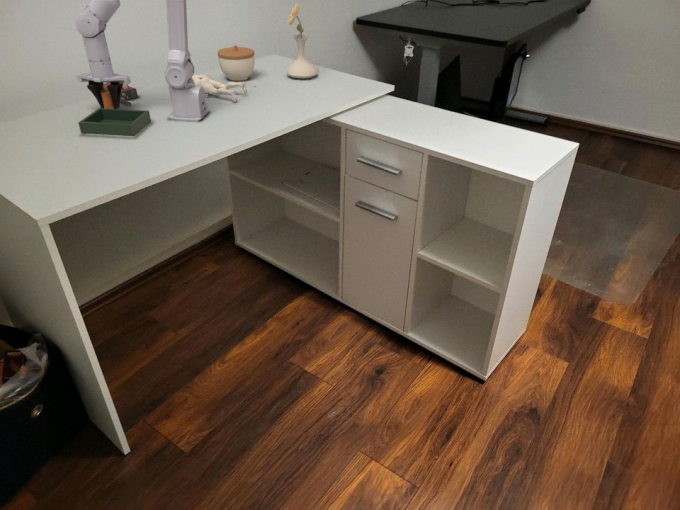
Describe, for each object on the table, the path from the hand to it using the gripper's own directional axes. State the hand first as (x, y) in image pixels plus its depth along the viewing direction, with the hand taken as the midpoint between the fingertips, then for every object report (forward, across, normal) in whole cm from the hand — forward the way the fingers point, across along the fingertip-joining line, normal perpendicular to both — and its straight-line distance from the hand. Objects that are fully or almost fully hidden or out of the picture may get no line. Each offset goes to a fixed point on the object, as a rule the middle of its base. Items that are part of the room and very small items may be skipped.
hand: (110, 107), depth 151 cm
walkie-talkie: (+2, -4, +14) cm, 15 cm away
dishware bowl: (+2, +27, +42) cm, 50 cm away
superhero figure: (+2, +22, +24) cm, 32 cm away
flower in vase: (+2, +48, +48) cm, 68 cm away
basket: (+2, +6, -10) cm, 13 cm away
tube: (+2, 0, 0) cm, 2 cm away
